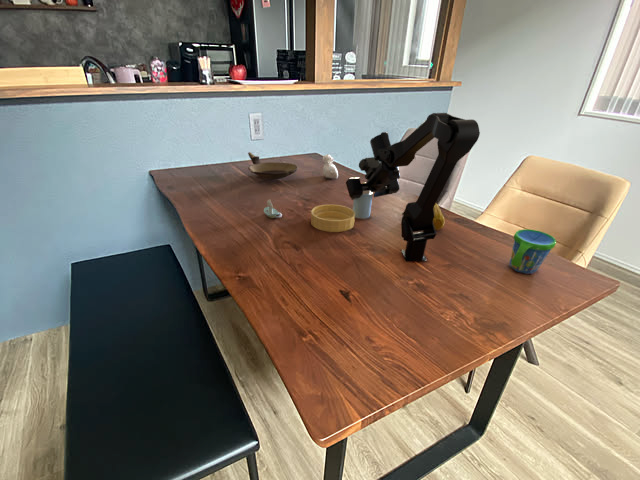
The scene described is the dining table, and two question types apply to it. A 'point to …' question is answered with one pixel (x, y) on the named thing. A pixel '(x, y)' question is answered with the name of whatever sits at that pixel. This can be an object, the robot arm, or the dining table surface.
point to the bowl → (332, 218)
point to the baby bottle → (363, 205)
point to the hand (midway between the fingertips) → (363, 197)
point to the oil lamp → (271, 168)
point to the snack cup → (530, 250)
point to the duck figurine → (329, 167)
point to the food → (438, 218)
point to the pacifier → (271, 211)
